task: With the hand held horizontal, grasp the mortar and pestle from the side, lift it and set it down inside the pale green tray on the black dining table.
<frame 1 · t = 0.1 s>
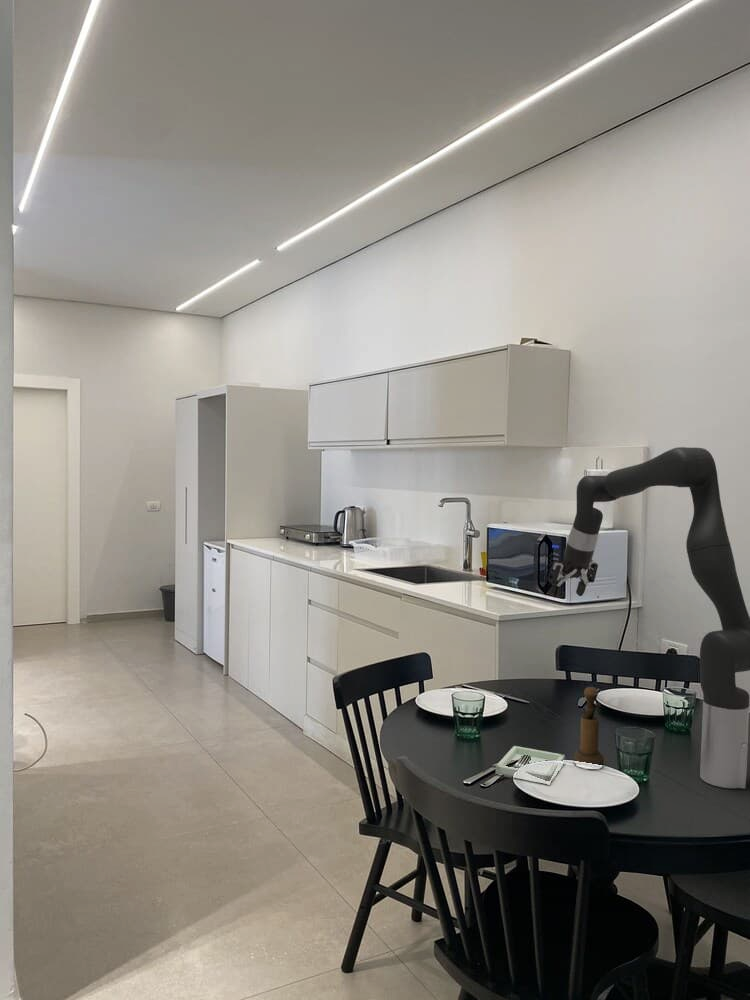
hand: (566, 595, 227), 31 cm above the table, tool tilted 20°, fingers open, 8 cm apart
mortar and pestle: (588, 765, 185), on the table
tray: (530, 769, 182), on the table
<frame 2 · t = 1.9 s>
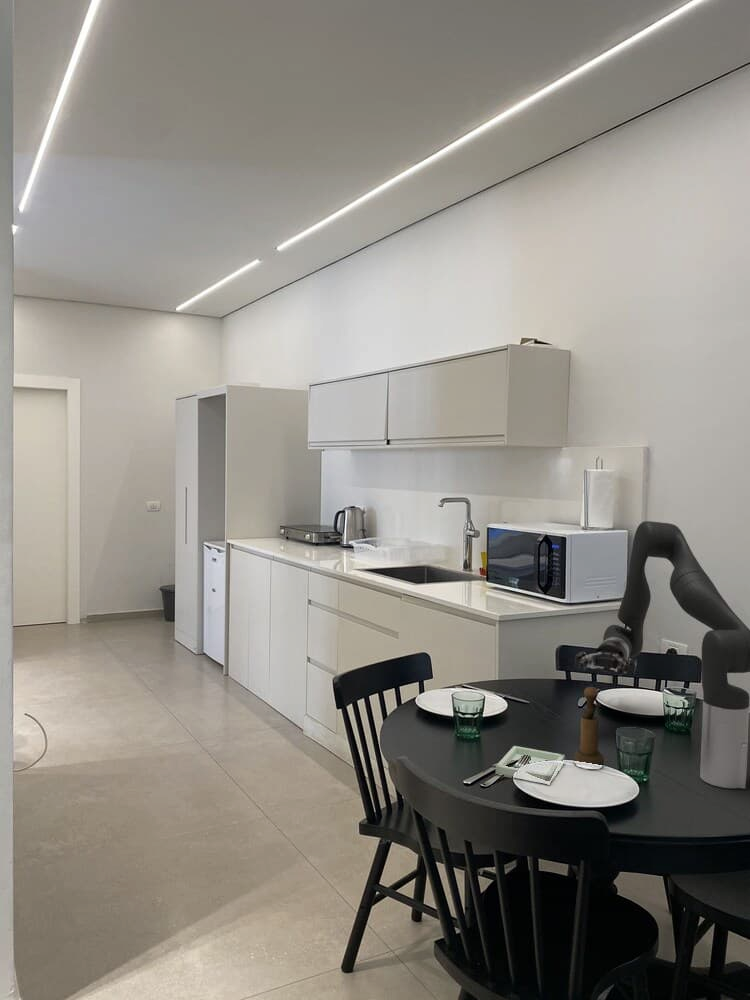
hand: (600, 669, 194), 20 cm above the table, tool horizontal, fingers open, 8 cm apart
nothing on the table moved.
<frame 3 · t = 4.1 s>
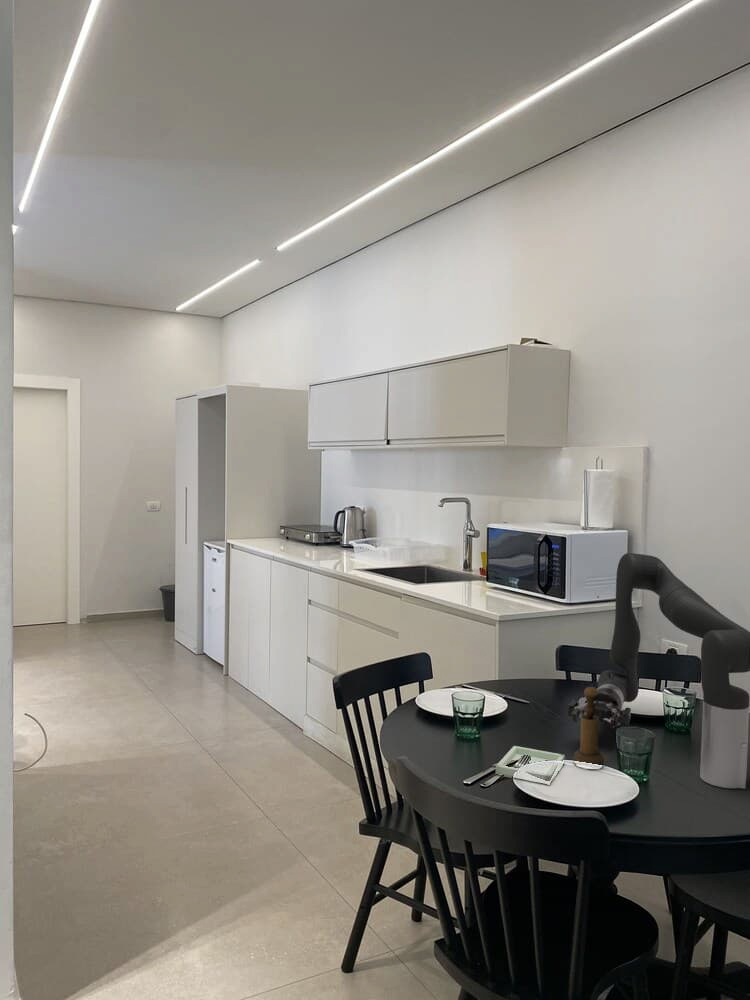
hand: (593, 720, 188), 9 cm above the table, tool horizontal, fingers open, 8 cm apart
nothing on the table moved.
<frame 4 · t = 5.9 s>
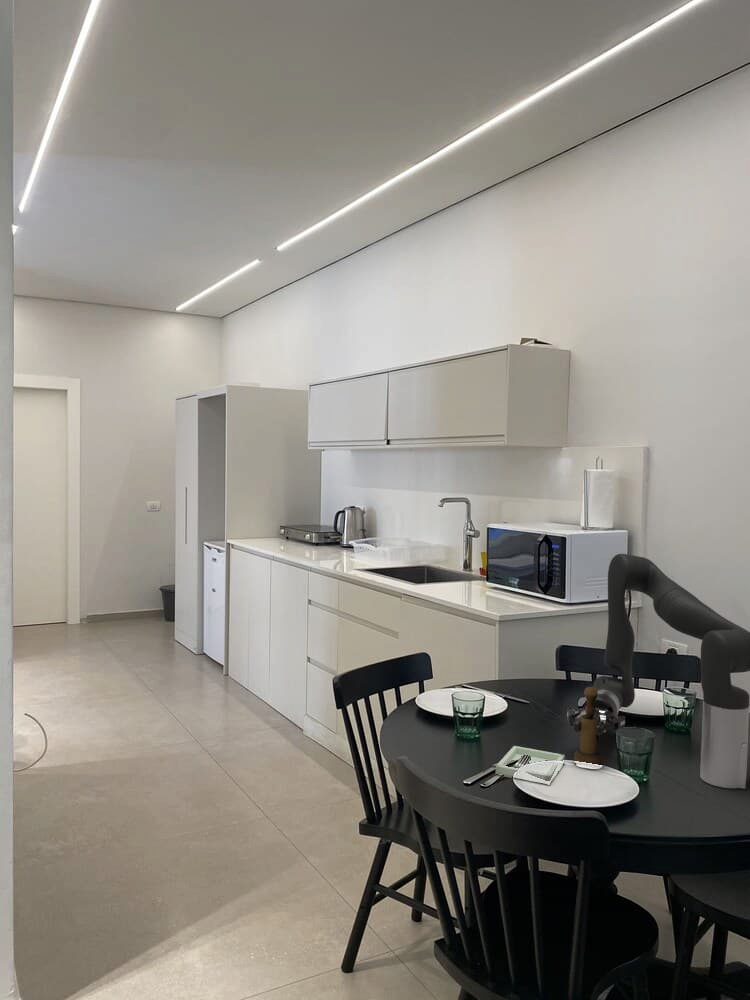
hand: (587, 729, 182), 9 cm above the table, tool horizontal, fingers closed on mortar and pestle, 4 cm apart
mortar and pestle: (588, 765, 185), on the table, touching gripper
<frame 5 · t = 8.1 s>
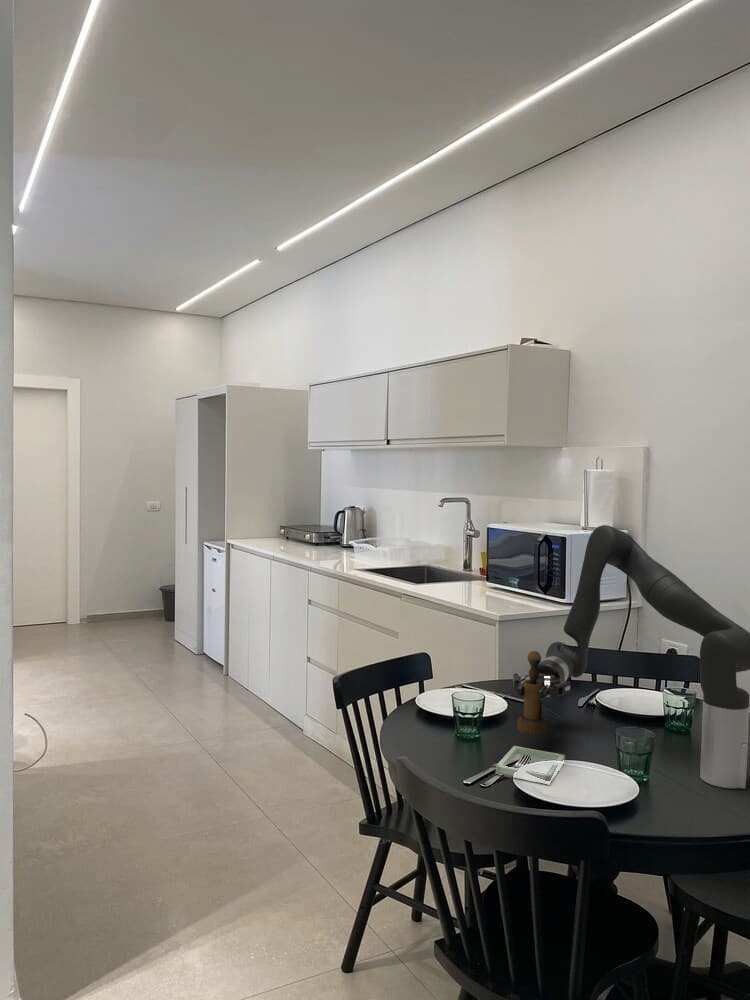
hand: (529, 694, 179), 18 cm above the table, tool horizontal, fingers closed on mortar and pestle, 4 cm apart
mortar and pestle: (532, 731, 182), point 8 cm above the table, touching gripper
when the fingers open (11 cm above the table, at t = 10.1 s): mortar and pestle stays where it is, resting on tray.
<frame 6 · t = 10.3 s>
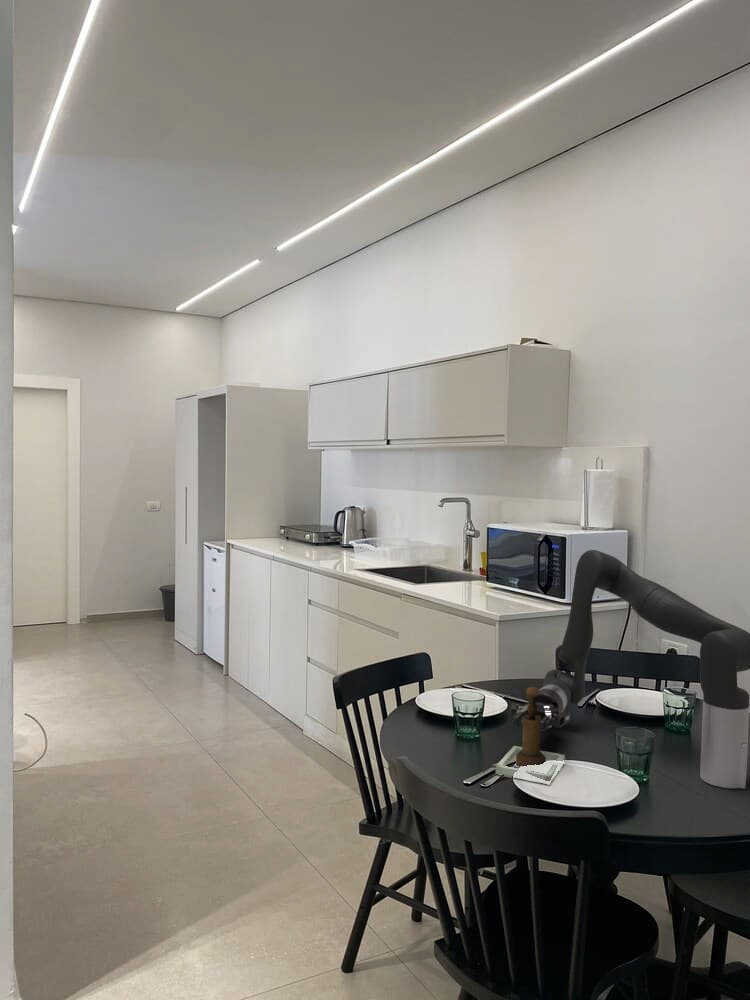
hand: (529, 724, 179), 11 cm above the table, tool horizontal, fingers open, 5 cm apart
mortar and pestle: (530, 766, 182), resting on tray
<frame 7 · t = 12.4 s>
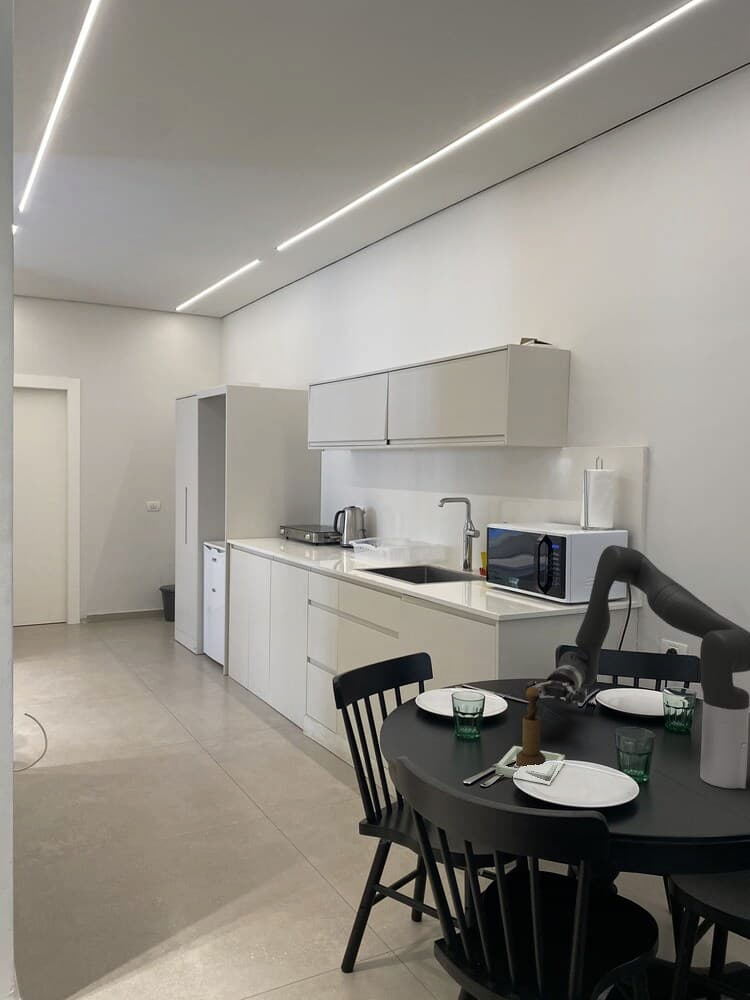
hand: (548, 698, 191), 13 cm above the table, tool horizontal, fingers open, 8 cm apart
nothing on the table moved.
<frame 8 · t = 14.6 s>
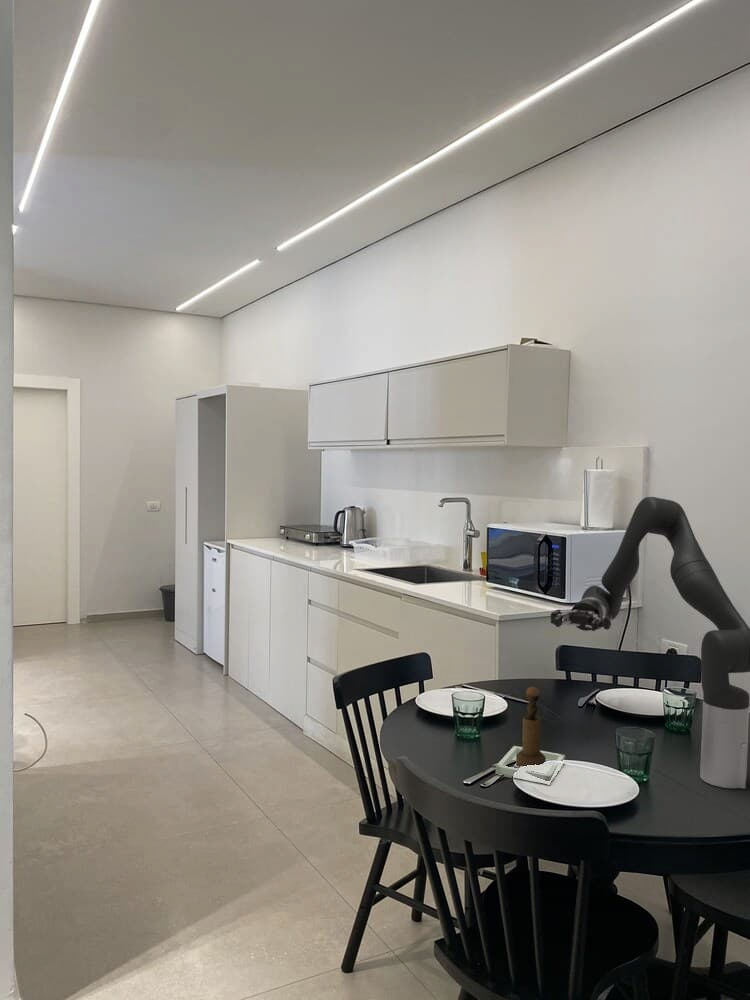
hand: (575, 624, 194), 30 cm above the table, tool horizontal, fingers open, 8 cm apart
nothing on the table moved.
at the end: mortar and pestle inside the target area on the tray (0.2 cm from its centre), point 0.4 cm above the tray's base; mortar and pestle tilted 0°; the gripper is holding nothing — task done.
